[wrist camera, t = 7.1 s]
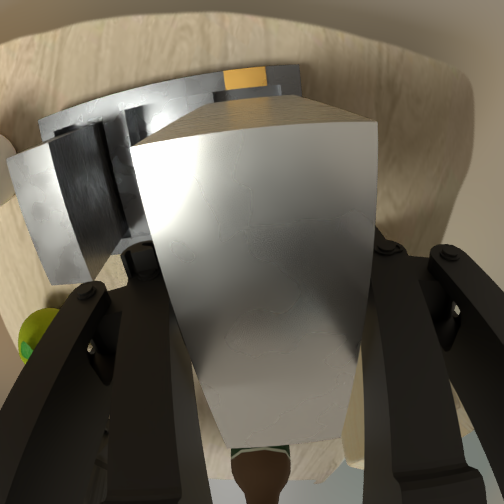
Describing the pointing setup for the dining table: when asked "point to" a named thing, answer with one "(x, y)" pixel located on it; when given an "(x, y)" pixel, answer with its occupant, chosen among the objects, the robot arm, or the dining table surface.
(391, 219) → the dining table surface
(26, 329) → the fruit
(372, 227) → the silver rectangular block
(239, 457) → the beer bottle
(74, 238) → the rack
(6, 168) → the potion bottle
